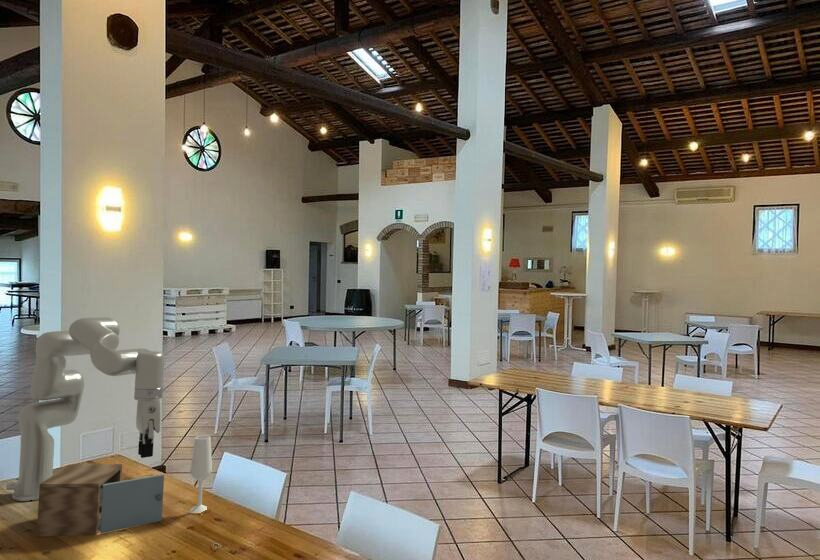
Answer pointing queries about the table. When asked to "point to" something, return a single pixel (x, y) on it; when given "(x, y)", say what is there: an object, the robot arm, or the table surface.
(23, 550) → the table surface
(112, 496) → the cabinet door
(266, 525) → the table surface
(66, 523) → the walnut cabinet
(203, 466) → the champagne flute
